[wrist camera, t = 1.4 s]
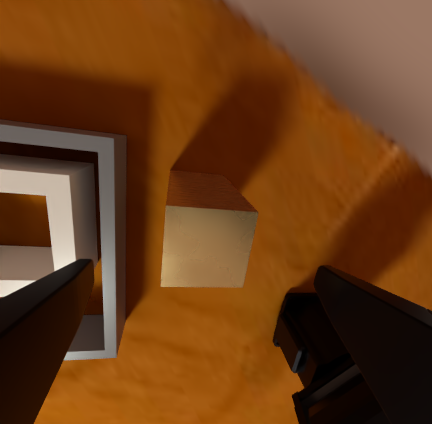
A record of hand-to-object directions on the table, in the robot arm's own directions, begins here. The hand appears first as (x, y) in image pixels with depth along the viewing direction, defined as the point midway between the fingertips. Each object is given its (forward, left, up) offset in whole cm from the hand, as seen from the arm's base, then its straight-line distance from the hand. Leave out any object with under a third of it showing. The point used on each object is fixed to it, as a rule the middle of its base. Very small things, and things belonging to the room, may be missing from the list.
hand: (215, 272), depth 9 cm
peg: (0, 0, -10) cm, 10 cm away
